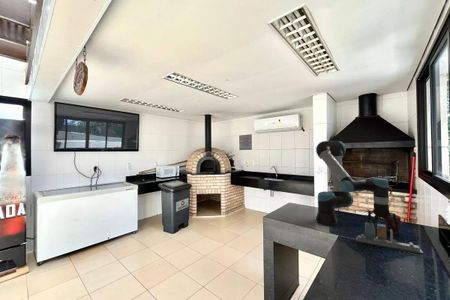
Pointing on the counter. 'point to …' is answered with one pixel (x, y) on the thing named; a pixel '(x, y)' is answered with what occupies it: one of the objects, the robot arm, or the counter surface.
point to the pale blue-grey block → (381, 232)
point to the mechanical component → (393, 223)
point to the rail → (385, 243)
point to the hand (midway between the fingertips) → (382, 238)
